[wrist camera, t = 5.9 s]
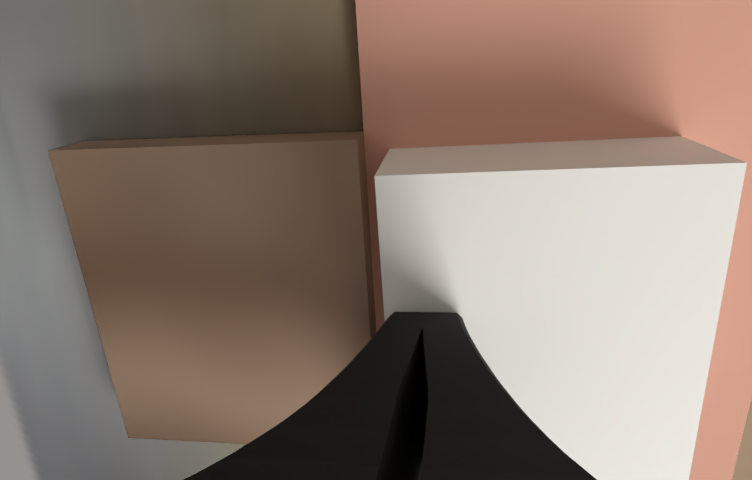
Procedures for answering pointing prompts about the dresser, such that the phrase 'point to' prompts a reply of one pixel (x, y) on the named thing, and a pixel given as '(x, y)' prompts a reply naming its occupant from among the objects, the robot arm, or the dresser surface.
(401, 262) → the cream tile
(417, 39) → the terracotta mat
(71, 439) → the dresser surface
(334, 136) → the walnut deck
